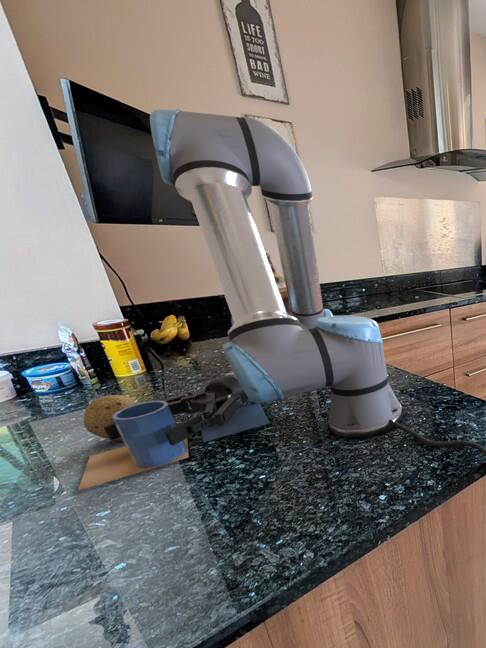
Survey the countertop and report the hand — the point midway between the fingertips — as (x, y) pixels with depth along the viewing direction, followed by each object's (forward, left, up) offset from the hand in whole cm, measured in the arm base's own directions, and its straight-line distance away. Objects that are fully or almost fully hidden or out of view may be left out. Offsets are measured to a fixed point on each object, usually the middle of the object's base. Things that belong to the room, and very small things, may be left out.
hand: (138, 436), depth 71 cm
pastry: (+37, +8, -6) cm, 38 cm away
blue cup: (+1, -2, -6) cm, 6 cm away
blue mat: (+9, -14, -6) cm, 18 cm away
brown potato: (+16, +5, -6) cm, 18 cm away
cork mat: (+4, +2, -6) cm, 8 cm away
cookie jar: (+69, -36, -6) cm, 78 cm away
